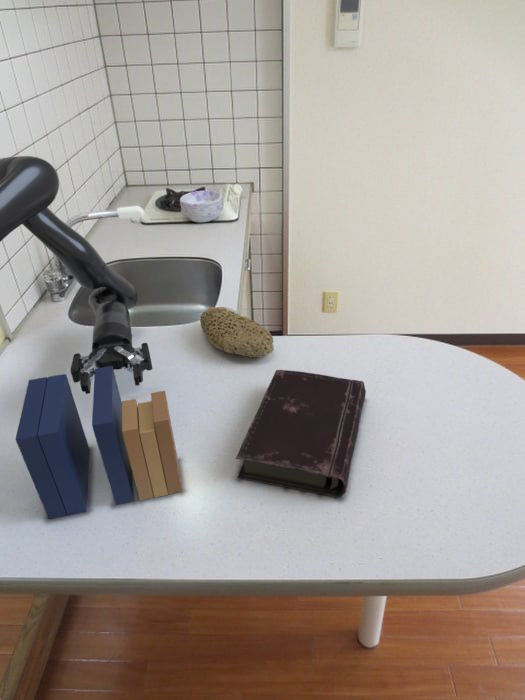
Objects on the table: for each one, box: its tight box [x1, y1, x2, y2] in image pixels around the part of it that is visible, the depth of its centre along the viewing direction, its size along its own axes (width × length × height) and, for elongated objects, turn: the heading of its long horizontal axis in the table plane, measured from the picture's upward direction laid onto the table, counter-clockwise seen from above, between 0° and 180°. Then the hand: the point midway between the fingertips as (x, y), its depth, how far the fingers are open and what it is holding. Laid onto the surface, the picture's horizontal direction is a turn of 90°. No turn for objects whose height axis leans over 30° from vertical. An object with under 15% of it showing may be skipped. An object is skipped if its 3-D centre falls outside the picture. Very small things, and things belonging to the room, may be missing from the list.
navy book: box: [91, 366, 135, 506], centre depth 84 cm, size 3×14×17 cm, turn 13°
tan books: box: [121, 390, 183, 501], centre depth 83 cm, size 7×7×16 cm
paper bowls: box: [179, 189, 225, 224], centre depth 187 cm, size 15×15×8 cm
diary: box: [235, 369, 367, 498], centre depth 93 cm, size 19×25×5 cm
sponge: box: [199, 306, 274, 358], centre depth 118 cm, size 13×8×20 cm
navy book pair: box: [15, 373, 91, 520], centre depth 83 cm, size 6×14×17 cm, turn 13°
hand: (111, 385), depth 92 cm, fingers open, 8 cm apart
